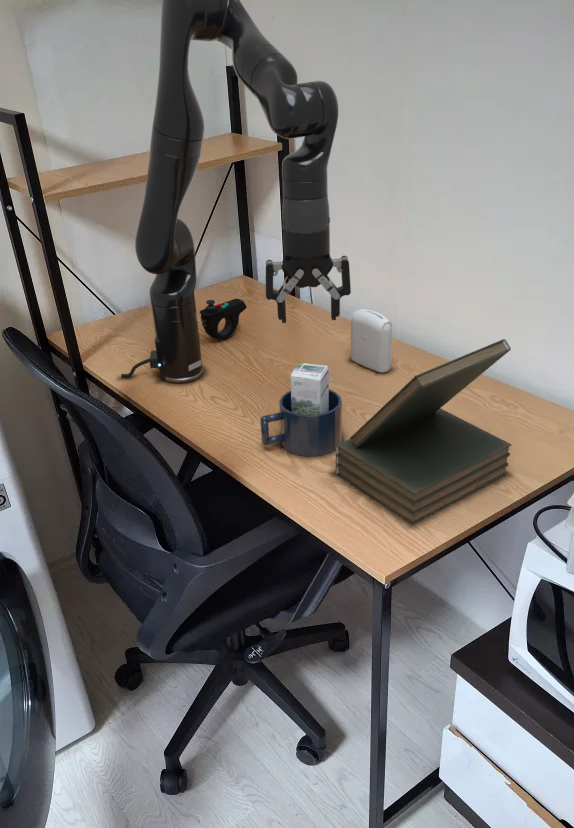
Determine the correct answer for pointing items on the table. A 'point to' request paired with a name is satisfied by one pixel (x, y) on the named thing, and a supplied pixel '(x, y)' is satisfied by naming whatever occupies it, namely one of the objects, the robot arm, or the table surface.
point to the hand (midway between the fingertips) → (308, 320)
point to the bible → (425, 444)
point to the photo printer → (371, 340)
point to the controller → (217, 313)
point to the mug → (306, 428)
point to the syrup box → (310, 389)
